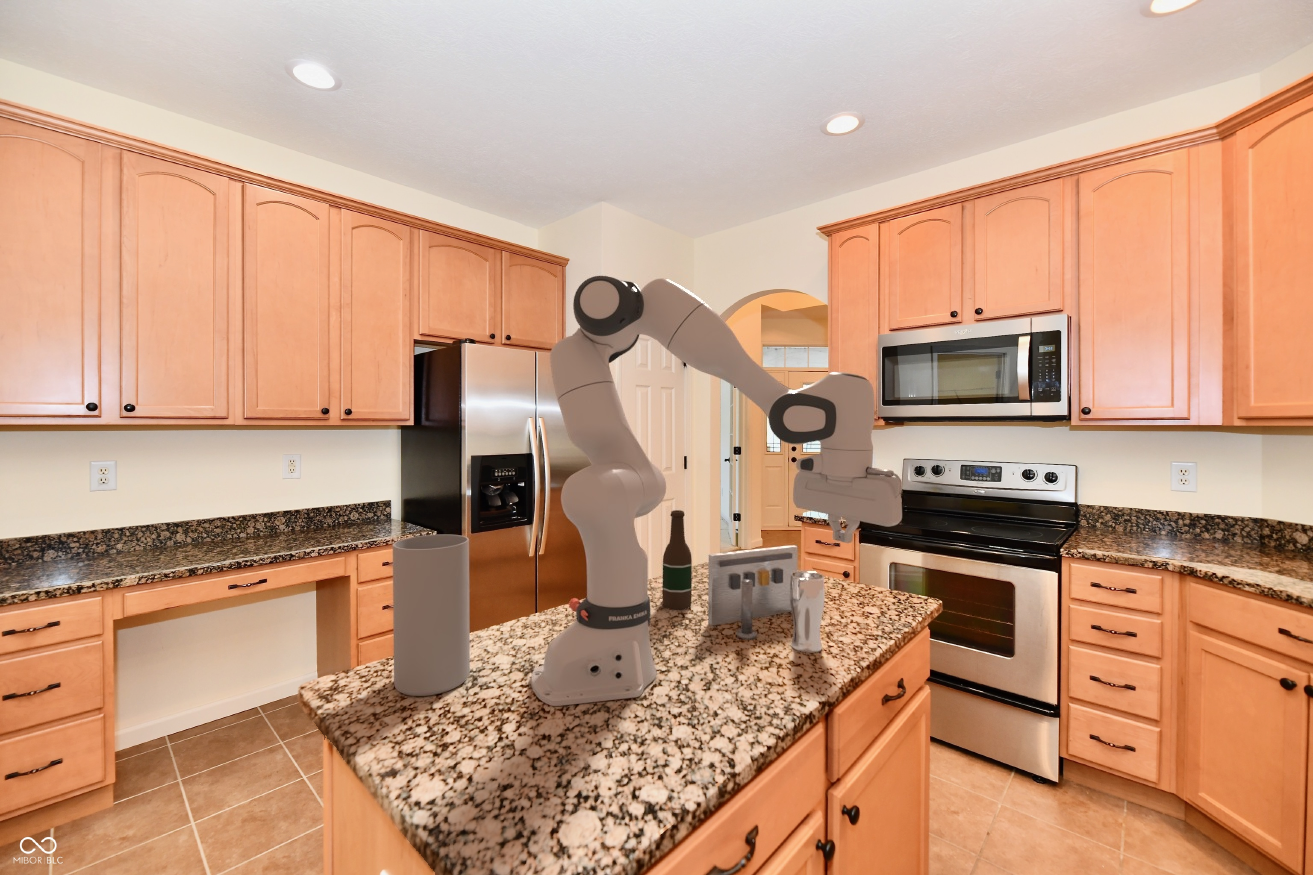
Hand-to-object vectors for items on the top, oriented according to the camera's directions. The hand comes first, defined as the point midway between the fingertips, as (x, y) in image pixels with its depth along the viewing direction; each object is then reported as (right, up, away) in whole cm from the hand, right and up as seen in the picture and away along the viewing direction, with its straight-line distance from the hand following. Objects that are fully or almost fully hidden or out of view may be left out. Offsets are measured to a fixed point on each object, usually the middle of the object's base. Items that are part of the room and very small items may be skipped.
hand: (842, 541), depth 99 cm
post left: (-14, -25, +21) cm, 35 cm away
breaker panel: (-10, -24, +32) cm, 42 cm away
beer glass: (-2, -25, +15) cm, 29 cm away
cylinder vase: (-73, -25, 0) cm, 78 cm away
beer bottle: (-28, -24, +41) cm, 55 cm away
